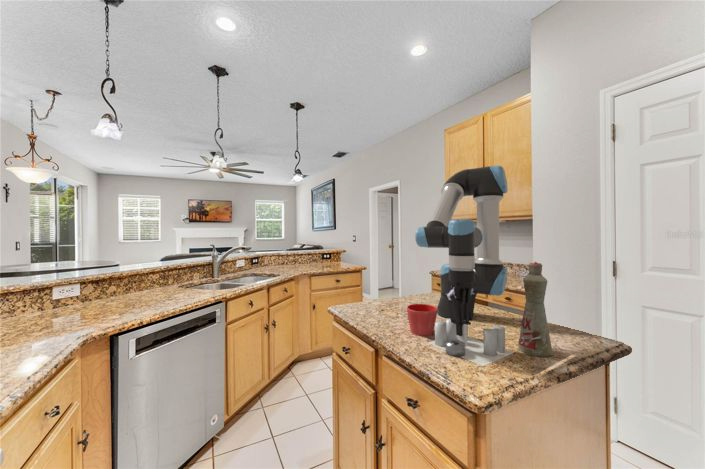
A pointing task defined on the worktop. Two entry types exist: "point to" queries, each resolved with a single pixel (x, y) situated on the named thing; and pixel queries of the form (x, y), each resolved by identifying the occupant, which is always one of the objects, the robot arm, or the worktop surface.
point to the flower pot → (422, 319)
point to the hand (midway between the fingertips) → (462, 345)
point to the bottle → (535, 315)
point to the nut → (455, 348)
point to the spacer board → (474, 343)
